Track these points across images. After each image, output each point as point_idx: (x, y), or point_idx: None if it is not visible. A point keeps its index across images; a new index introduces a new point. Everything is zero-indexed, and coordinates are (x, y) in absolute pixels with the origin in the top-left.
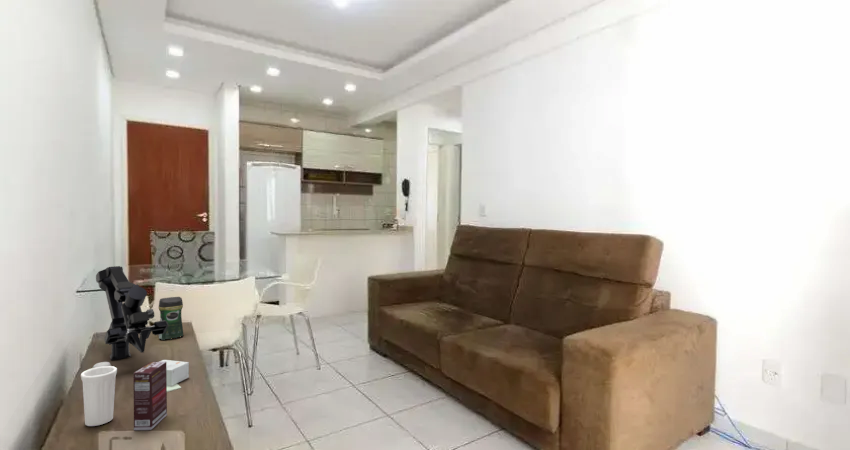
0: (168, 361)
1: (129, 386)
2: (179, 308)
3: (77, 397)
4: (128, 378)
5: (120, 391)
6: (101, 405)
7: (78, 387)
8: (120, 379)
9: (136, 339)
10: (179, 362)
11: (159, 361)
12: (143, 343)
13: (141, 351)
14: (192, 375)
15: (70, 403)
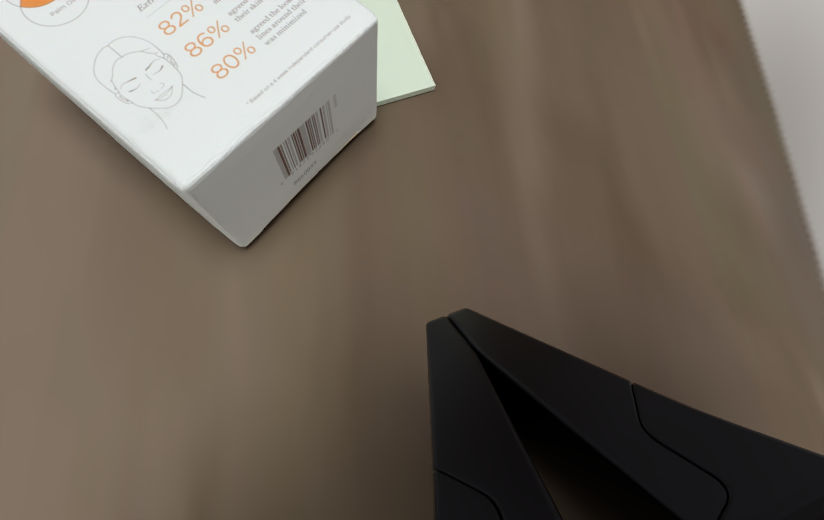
0: (134, 88)
1: (477, 130)
2: None
3: (744, 84)
4: (514, 311)
5: (518, 67)
6: None
7: (817, 266)
8: (571, 314)
9: (736, 461)
10: (24, 1)
11: (233, 143)
12: (474, 414)
13: (468, 317)
14: (21, 154)
15: (744, 14)
